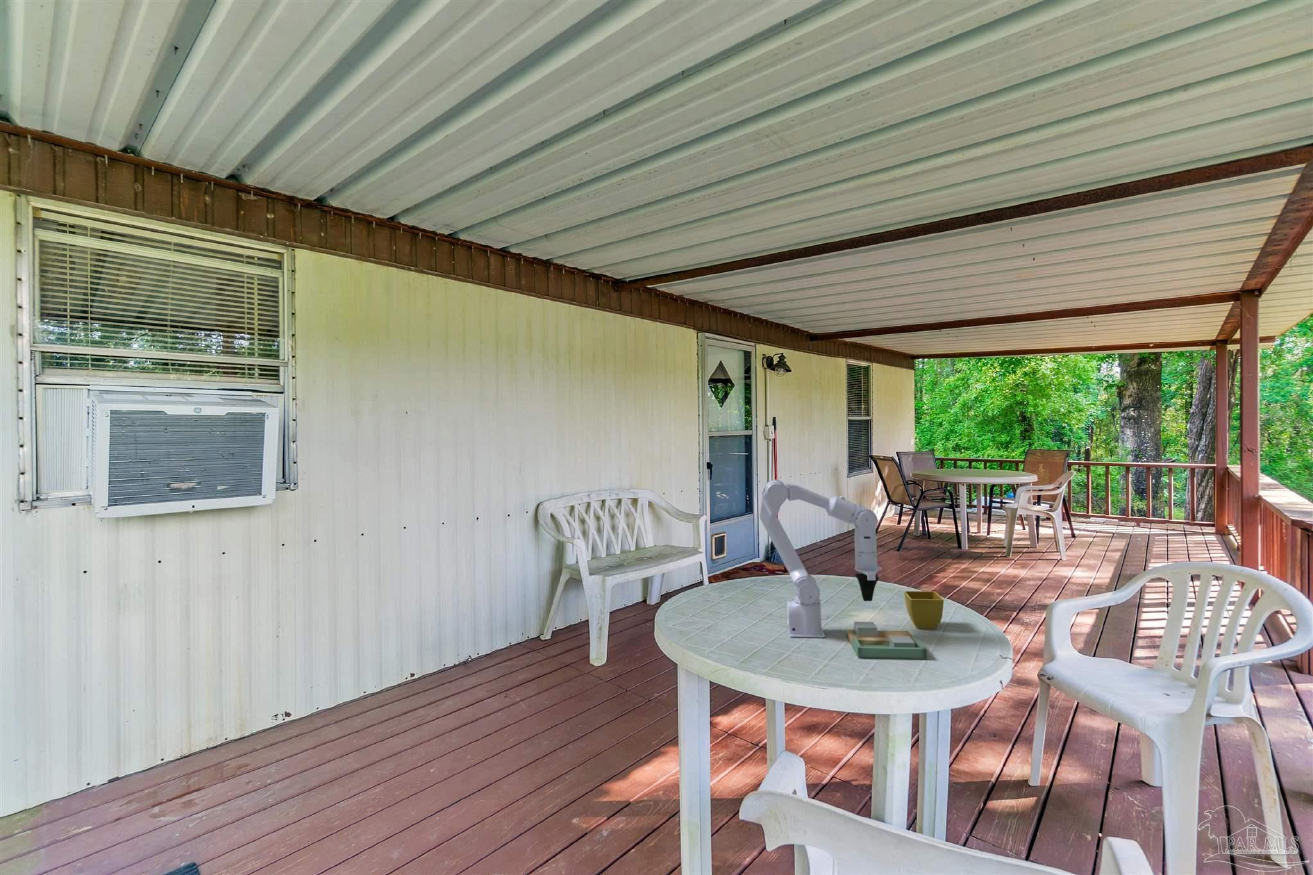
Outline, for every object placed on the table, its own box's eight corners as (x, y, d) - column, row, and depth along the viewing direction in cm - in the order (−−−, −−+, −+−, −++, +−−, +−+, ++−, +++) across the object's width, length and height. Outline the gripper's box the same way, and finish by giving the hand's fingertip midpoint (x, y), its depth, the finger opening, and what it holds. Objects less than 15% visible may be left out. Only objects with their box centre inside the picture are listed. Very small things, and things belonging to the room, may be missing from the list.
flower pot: (945, 632, 159) (944, 599, 159) (911, 631, 160) (910, 598, 160) (936, 622, 167) (935, 591, 167) (904, 621, 169) (903, 590, 169)
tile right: (894, 652, 144) (893, 642, 144) (889, 645, 149) (888, 635, 149) (915, 652, 143) (914, 642, 143) (909, 645, 148) (909, 635, 148)
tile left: (857, 636, 153) (857, 627, 153) (854, 630, 158) (853, 621, 158) (877, 637, 152) (877, 627, 152) (873, 631, 157) (872, 621, 157)
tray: (858, 658, 142) (858, 648, 142) (852, 646, 150) (851, 636, 150) (927, 659, 140) (926, 649, 140) (916, 647, 148) (916, 637, 148)
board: (852, 646, 150) (851, 640, 150) (846, 635, 158) (846, 630, 158) (916, 647, 148) (916, 640, 148) (907, 636, 156) (907, 630, 156)
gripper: (886, 556, 152) (888, 608, 151) (875, 546, 166) (877, 593, 166) (859, 556, 153) (860, 607, 153) (850, 546, 167) (851, 593, 167)
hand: (867, 600), depth 159 cm, fingers closed
